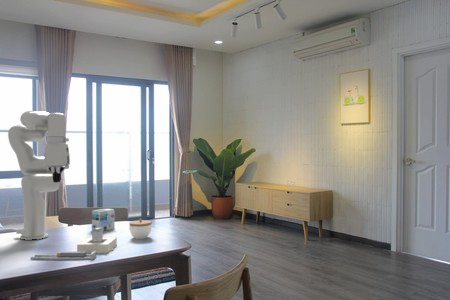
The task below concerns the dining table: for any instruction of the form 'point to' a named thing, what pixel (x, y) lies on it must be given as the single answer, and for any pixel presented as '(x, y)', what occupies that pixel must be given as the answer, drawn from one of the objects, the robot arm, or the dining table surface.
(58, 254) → the lock pin
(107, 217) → the light bulb box
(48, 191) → the robot arm
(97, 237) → the grey canister
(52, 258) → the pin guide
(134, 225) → the lidded jar
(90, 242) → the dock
